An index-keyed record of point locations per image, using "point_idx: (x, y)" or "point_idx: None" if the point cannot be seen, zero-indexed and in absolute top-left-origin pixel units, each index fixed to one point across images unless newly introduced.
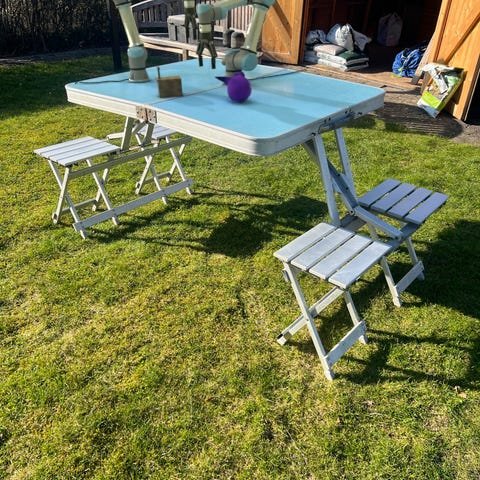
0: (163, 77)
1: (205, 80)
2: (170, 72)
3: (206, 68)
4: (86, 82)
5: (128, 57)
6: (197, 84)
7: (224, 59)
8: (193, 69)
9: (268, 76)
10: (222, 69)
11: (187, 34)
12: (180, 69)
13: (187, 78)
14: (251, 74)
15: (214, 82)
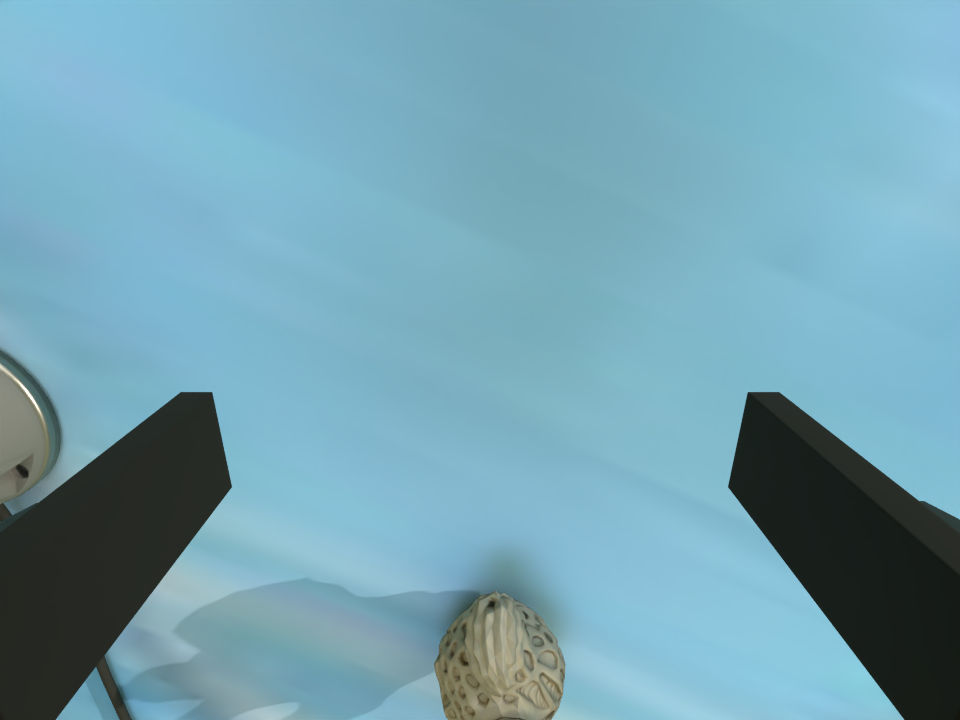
0: None
1: (203, 262)
2: (866, 115)
3: None
4: None
5: None
6: (21, 95)
7: (484, 647)
8: (818, 402)
9: (109, 695)
10: (622, 592)
11: (796, 490)
12: (931, 293)
13: (399, 141)
14: (289, 659)
15: (70, 294)
